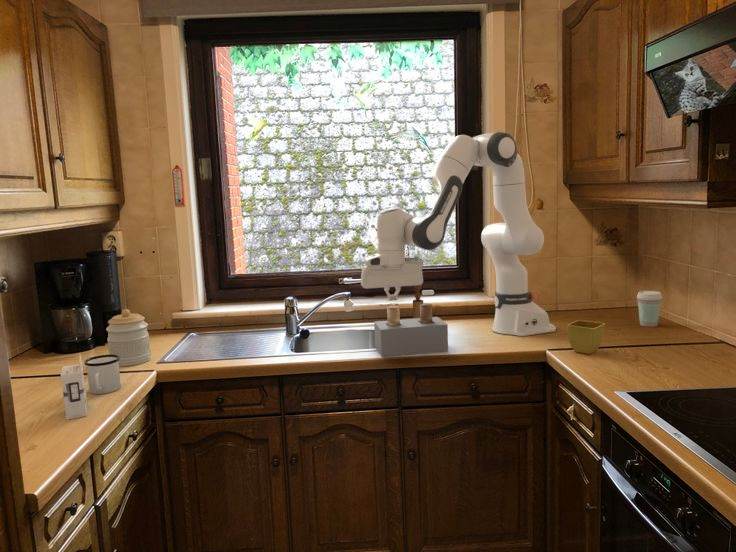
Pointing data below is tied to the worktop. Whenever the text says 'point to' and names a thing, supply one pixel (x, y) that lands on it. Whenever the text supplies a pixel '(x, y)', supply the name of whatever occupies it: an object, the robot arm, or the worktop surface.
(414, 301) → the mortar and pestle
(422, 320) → the walnut dowel
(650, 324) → the coffee cup
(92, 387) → the mug
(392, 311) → the beech dowel
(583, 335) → the flower pot
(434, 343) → the socket block
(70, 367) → the ink box
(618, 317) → the worktop surface
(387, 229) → the robot arm
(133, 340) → the jar
